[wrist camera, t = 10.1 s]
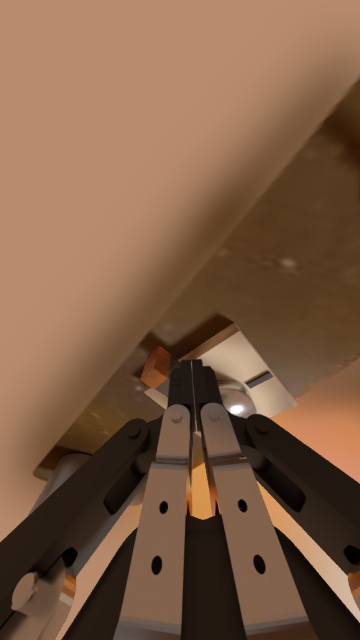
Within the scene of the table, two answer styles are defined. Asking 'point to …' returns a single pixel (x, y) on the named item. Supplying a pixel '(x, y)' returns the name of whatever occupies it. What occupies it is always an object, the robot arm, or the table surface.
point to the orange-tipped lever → (159, 378)
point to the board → (239, 371)
